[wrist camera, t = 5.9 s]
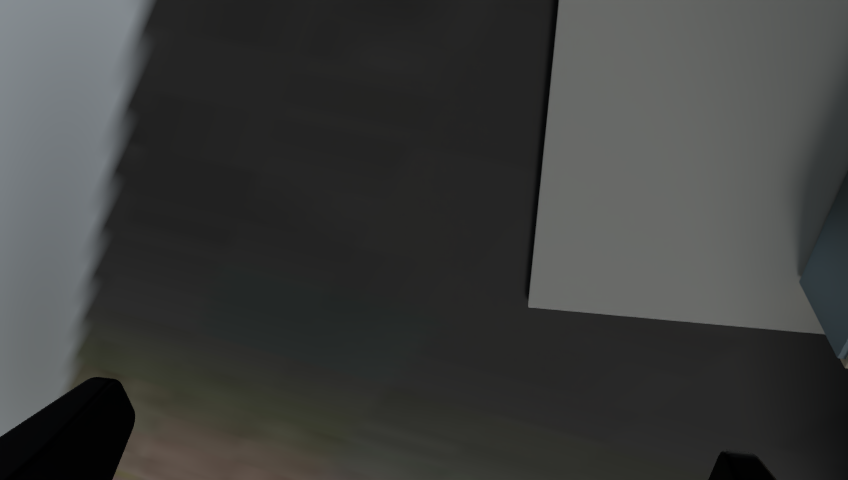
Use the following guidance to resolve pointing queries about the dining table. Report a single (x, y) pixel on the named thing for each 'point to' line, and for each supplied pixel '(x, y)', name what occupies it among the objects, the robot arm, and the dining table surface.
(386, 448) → the dining table surface
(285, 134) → the dining table surface
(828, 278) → the beech slab
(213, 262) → the dining table surface
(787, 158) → the white flat tray
